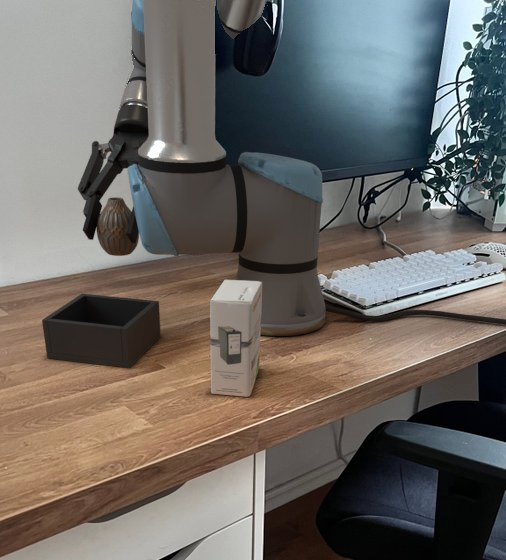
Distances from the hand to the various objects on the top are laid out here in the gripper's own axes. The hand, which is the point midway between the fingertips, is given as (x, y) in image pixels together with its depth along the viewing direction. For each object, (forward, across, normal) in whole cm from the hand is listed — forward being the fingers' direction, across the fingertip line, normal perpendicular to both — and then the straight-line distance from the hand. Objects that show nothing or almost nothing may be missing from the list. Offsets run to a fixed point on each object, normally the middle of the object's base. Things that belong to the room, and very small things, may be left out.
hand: (109, 236), depth 111 cm
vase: (0, 0, -5) cm, 5 cm away
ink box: (+28, -29, +14) cm, 42 cm away
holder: (+23, -9, +10) cm, 27 cm away
